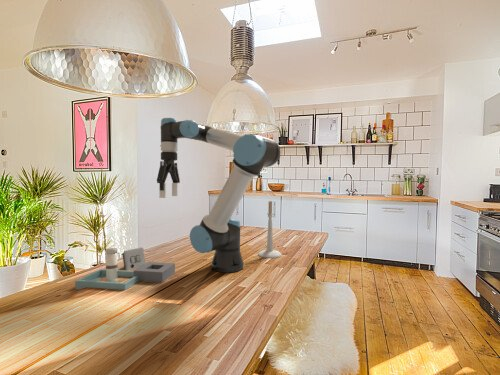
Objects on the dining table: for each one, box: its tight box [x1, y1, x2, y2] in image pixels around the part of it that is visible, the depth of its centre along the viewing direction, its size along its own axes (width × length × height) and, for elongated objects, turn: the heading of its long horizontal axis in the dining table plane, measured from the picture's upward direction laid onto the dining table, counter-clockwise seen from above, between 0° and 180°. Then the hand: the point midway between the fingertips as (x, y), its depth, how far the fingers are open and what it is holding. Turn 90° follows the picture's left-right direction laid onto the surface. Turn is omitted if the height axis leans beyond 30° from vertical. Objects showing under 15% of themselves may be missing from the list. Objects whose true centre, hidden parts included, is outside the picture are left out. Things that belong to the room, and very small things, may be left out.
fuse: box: [105, 247, 119, 282], centre depth 111 cm, size 4×4×13 cm
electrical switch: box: [121, 247, 147, 271], centre depth 131 cm, size 9×5×9 cm, turn 141°
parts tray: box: [74, 268, 139, 291], centre depth 111 cm, size 20×14×3 cm
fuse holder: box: [133, 261, 176, 284], centre depth 117 cm, size 12×12×5 cm
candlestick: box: [257, 200, 282, 259], centre depth 156 cm, size 13×13×30 cm
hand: (169, 197), depth 135 cm, fingers open, 13 cm apart
